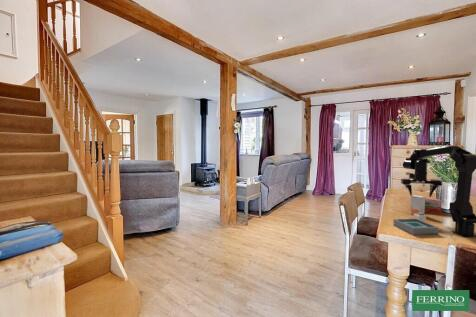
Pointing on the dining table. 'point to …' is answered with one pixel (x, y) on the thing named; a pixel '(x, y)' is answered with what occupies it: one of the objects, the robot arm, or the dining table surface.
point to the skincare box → (417, 204)
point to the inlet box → (416, 226)
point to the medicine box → (432, 205)
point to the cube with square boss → (420, 216)
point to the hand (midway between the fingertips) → (420, 196)
